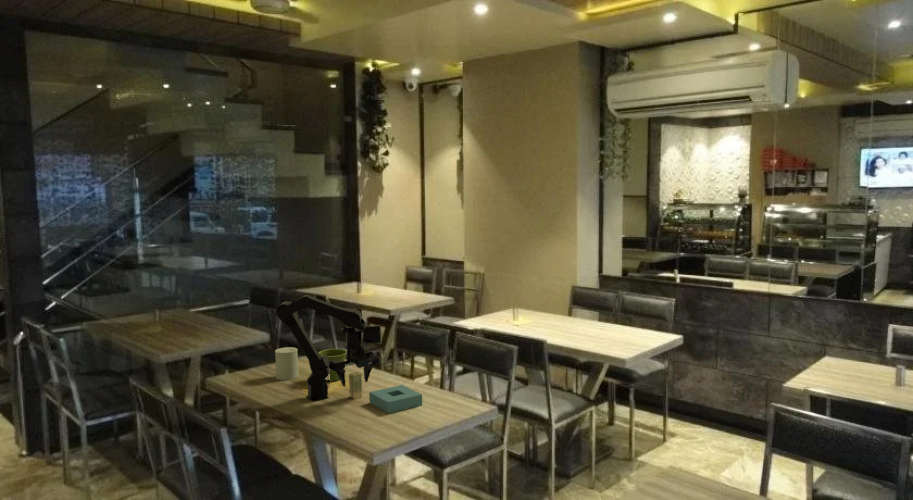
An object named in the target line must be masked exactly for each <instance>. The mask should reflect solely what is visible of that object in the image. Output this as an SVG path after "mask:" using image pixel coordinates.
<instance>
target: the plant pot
mask: <svg viewBox="0 0 913 500" xmlns="http://www.w3.org/2000/svg"><path fill="white" fill-rule="evenodd" d="M318 353H319V354H320V355H321V356H324V355H325V354H326V356H327V359H328V360H329V361H331V360H337V359H339V360H341V361H346V359H345V356H347V349H345V348H344V349H343V348H328V349H324V350H323V349H322V350H320V351H318ZM329 374H330V380H331V381H330V382H338V381H340V378H339V376H338V374H337V373H336V371H334V370H332V369H331V370H330V372H329Z"/></svg>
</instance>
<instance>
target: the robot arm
mask: <svg viewBox="0 0 913 500" xmlns="http://www.w3.org/2000/svg"><path fill="white" fill-rule="evenodd" d="M304 308H308V309H311V310H314V311H315V312H317V313H318V312H319V313H322V314H324V315H326V316H329V317H332V318H335V319H336V320H338V321H339V322H341V323H342V324H344V327H343V328H342V329H341V330H340V333H344V334H345V336H346V337H345V338H346V340H345V341H346V342H345V345H344V350H346V351H347V354H346V356H345V361H341V360H339V359H337V360H331V361H329V360H328V359H327V356H326V354H325V355H324V356H321V355H320V354H319V351H318V350H317V348H316V347H315V345H314V344H313V342H312V340H311V338H310V337H309V335H308V334H307V332H306V330H305V328H304V327H303V324H302V323H301V322H300V319H299V313H298V312H299V311H301V310H302V309H304ZM275 315H276V317H277V318H278V319H279V320H280V321H281V322H282V324H283V325H285V326H286V327H288V329H289V330H290V332H291V333H292V336H294V338H295V340H296V341H297V343H298V346H299V347H300V349H301V350H302V351H303V353H304V355H305V357H306V358H307V359H308V363H309V368H310V371H311V373H310V375H309V376H308V378H307V379H306V382H307V395H306V397H305V398H307V399H309V400H310V401H312V402H315V401H320V400H325V399H329V398H330V397H329V396H328V395H329V390H328V384H327V380H325V378H326V377H327V376H328V374H329V372H330V370H331V369H332V370H334V371H336V373H337V374H338V376H339V378H340V380H339V381H340V382H341V385H342V386H343V387H346V371H347V370H346V369H345V368H346V367H348V366H353V365H355V366H356V367H357V368H358V369H362V368H363V376H364V377H363V378H364V382H365V383H367V382H368V381H369V378H370V374H371V371H373V370H372V369H373V368H374V367H375V366H376V367H377V365H378V364H380V363H381V359H380V356H379V355H377V353H374V352H373V351H368V352H365V347H364V345H363V343H362V342H363V341H364V343H365V344H382V341H383V333H382V328H381V324H376V325H368V323H367V322H366V320H364V319H363V316H362V315H363V314H362V312H361V311H360V310H358V309H356V308H351V307H341V306H338V305H335V304H332V303H330V302H327V301H324V300H321V299H319V298H316V297H313V296H312V295H310V294H305V295H303V296H301V297H298V298H297V299H294V300H292V301H290V300H289V301H288V300H287V301H283V302H281V303H280V304H279V305H278V306H277V307H276V310H275Z"/></svg>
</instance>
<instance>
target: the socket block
mask: <svg viewBox="0 0 913 500" xmlns="http://www.w3.org/2000/svg"><path fill="white" fill-rule="evenodd" d="M368 395H369V403H370V404H371V405H373V406H375V407H377V408H378V409H380V410H382V411H383V412H384V413H385V412H386V413H388V414H393V413H395V412H400V411H404V410H407V409H412V408H413V409H414V408H417V407H420V406H423V394H422V393H420V392H418V391H416V390H414V389H412V388H409V387H408V386H405V385H404V384H400V385H395V386H390V387H386V388H382V389H378V390H372V391H370V392H369V393H368Z"/></svg>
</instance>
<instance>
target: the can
mask: <svg viewBox="0 0 913 500" xmlns="http://www.w3.org/2000/svg"><path fill="white" fill-rule="evenodd" d="M298 350H299V349H298V348H296V347H293V346H292V347H291V346H289V347H288V346H287V347H286V346H285V347H281V348H277V349H275V350H274V354H275V379H277V380H280V381H289V380H294V379H297V378H298V377H299V376H300V375H299V361H298Z"/></svg>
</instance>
